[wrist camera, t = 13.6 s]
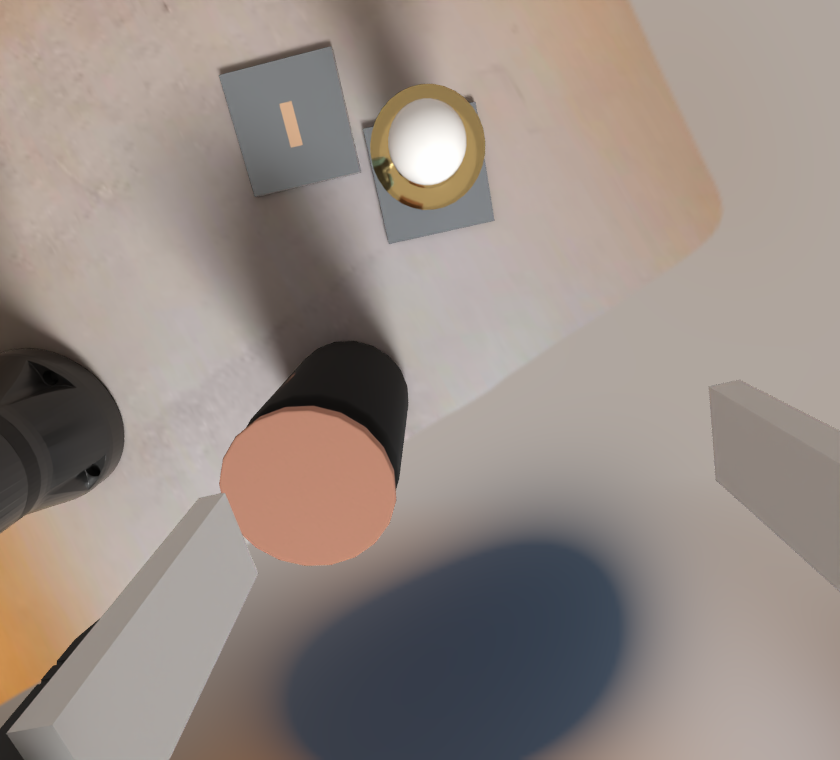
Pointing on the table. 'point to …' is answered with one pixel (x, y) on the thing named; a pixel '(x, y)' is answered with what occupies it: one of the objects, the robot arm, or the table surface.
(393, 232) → the slate code tile
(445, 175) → the perfume bottle
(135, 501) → the table surface
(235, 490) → the coffee jar
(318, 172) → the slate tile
